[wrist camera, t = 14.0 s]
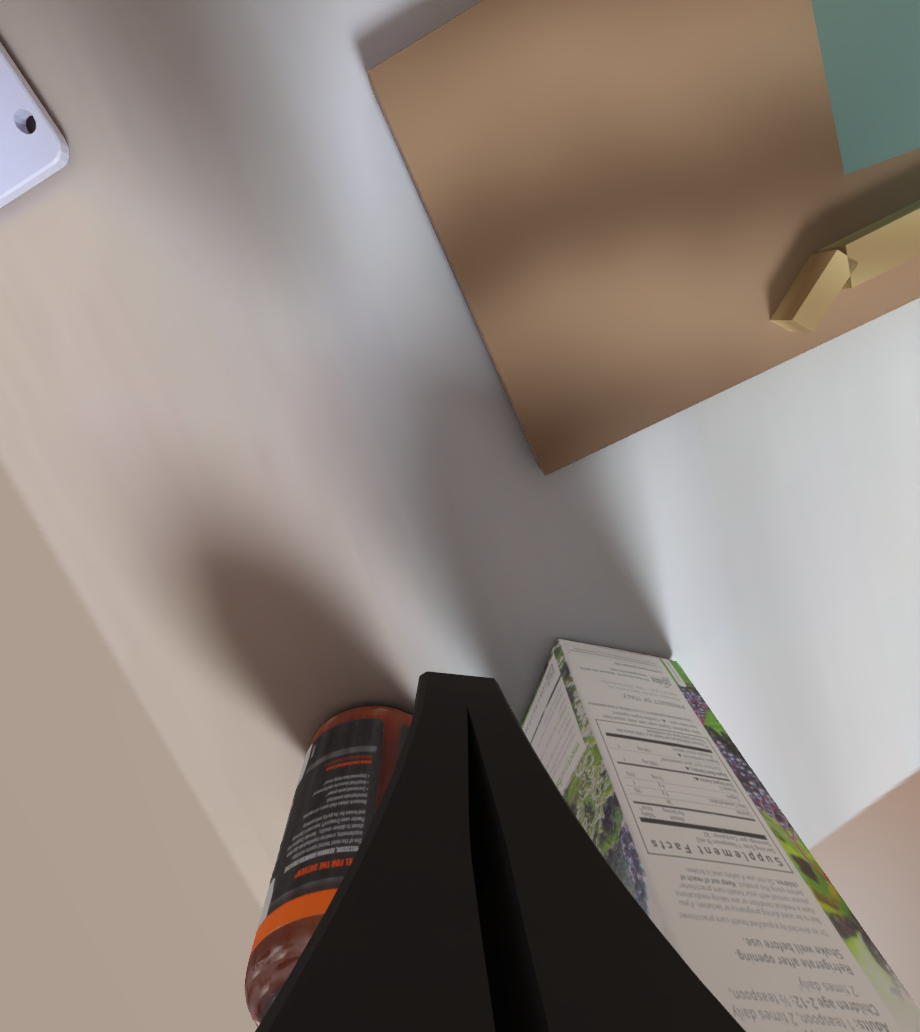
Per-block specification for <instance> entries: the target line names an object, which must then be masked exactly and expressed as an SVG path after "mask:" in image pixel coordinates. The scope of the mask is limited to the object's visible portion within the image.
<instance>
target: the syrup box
mask: <svg viewBox="0 0 920 1032" xmlns="http://www.w3.org/2000/svg"><path fill="white" fill-rule="evenodd" d="M521 728H522V729H523V731H524V733H525V735H526V737H527V738H528V740H529V742H530V744H531V745H532V747H533V749H534V750H535V752H536V754H537V756H538V757H539V759H540V761H541V762H542V764H543V765H544V767H545V769H546V770H547V772H548V774H549V775H550V777H551V778H552V780H553V782H554V783H555V785H556V787H557V788H558V790H559V791H560V793H561V795H562V796H563V798H564V799H565V801H566V802H567V804H568V805H569V807H570V808H571V810H572V812H573V813H574V815H575V816H576V818H577V819H578V821H579V822H580V823H581V825H582V826H583V828H584V829H585V831H586V832H587V834H588V835H589V837H590V838H591V839H592V841H593V842H594V844H595V845H596V847H597V848H598V850H599V851H600V852H601V854H602V855H603V857H604V858H605V859H606V861H607V862H608V864H609V865H610V866H611V868H612V869H613V871H614V872H615V873H616V875H617V876H618V877H619V879H620V880H621V881H622V883H623V884H624V885H625V887H626V888H627V889H628V891H629V892H630V893H631V895H632V896H633V897H634V898H635V900H636V901H637V902H638V904H639V905H640V906H641V907H642V909H643V910H644V911H645V913H646V914H647V915H648V917H649V918H650V919H651V920H652V922H653V923H654V924H655V926H656V927H657V928H658V929H659V930H660V932H661V933H662V934H663V935H664V937H665V938H666V939H667V940H668V941H669V943H670V944H671V945H672V946H673V948H674V949H675V950H676V951H677V952H678V954H679V955H680V956H681V957H682V959H683V960H684V961H685V962H686V964H687V965H688V966H689V967H690V968H691V970H692V971H693V972H694V973H695V974H696V976H697V977H698V978H699V979H700V980H701V981H702V983H703V984H704V985H705V986H706V987H707V988H708V989H709V990H710V992H711V993H712V994H713V995H714V996H715V997H716V998H717V999H718V1001H719V1002H720V1003H721V1004H722V1005H723V1006H724V1007H725V1008H726V1010H727V1011H728V1012H729V1013H730V1014H731V1015H732V1016H733V1018H734V1019H735V1020H736V1021H737V1022H738V1023H739V1024H740V1025H741V1027H742V1028H743V1029H744V1030H745V1031H746V1032H920V1009H919V1008H918V1006H917V1005H916V1003H915V1002H914V1001H913V999H912V998H911V996H910V995H909V993H908V992H907V990H906V989H905V988H904V986H903V985H902V983H901V982H900V981H899V979H898V978H897V976H896V975H895V973H894V972H893V971H892V969H891V968H890V966H889V965H888V964H887V962H886V961H885V959H884V958H883V956H882V955H881V954H880V952H879V951H878V949H877V948H876V947H875V945H874V944H873V942H872V941H871V940H870V938H869V937H868V935H867V934H866V932H865V931H864V930H863V928H862V927H861V925H860V924H859V922H858V921H857V919H856V918H855V917H854V915H853V914H852V912H851V911H850V909H849V908H848V907H847V905H846V903H845V902H844V901H843V899H842V898H841V896H840V895H839V893H838V892H837V890H836V889H835V887H834V886H833V885H832V883H831V882H830V880H829V879H828V877H827V876H826V875H825V873H824V872H823V870H822V869H821V867H820V866H819V865H818V863H817V862H816V860H815V859H814V858H813V856H812V855H811V853H810V852H809V850H808V849H807V848H806V846H805V845H804V843H803V842H802V840H801V839H800V837H799V836H798V835H797V833H796V832H795V830H794V829H793V827H792V826H791V824H790V823H789V822H788V820H787V819H786V817H785V816H784V814H783V813H782V812H781V810H780V809H779V807H778V806H777V805H776V803H775V802H774V800H773V799H772V798H771V796H770V795H769V793H768V792H767V790H766V789H765V787H764V786H763V785H762V783H761V782H760V780H759V779H758V777H757V776H756V775H755V773H754V772H753V770H752V769H751V768H750V766H749V765H748V764H747V762H746V761H745V759H744V758H743V756H742V755H741V753H740V752H739V750H738V749H737V747H736V746H735V745H734V743H733V742H732V740H731V739H730V737H729V736H728V734H727V733H726V731H725V730H724V728H723V727H722V725H721V724H720V723H719V721H718V720H717V719H716V717H715V716H714V714H713V713H712V711H711V710H710V708H709V707H708V705H707V704H706V703H705V701H704V700H703V698H702V697H701V696H700V694H699V693H698V691H697V690H696V688H695V687H694V685H693V684H692V683H691V681H690V680H689V678H688V677H687V675H686V674H685V672H684V671H683V669H682V668H681V666H680V665H679V664H678V663H677V662H676V661H672V660H670V659H665V658H660V657H655V656H650V655H645V654H640V653H634V652H629V651H624V650H619V649H613V648H608V647H603V646H597V645H591V644H586V643H580V642H574V641H569V640H564V639H557V640H556V642H555V644H554V646H553V649H552V651H551V654H550V656H549V659H548V662H547V664H546V667H545V669H544V672H543V674H542V677H541V679H540V681H539V684H538V686H537V689H536V691H535V694H534V696H533V699H532V701H531V704H530V706H529V708H528V711H527V713H526V716H525V718H524V720H523V722H522V725H521Z"/></svg>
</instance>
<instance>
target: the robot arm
mask: <svg viewBox="0 0 920 1032" xmlns="http://www.w3.org/2000/svg"><path fill="white" fill-rule="evenodd" d="M32 115H33V117H34V119H35V121H36V130H35V131H34V132H33V133H32V134H30V133H29V132H28V130H27V127H26V120H27V118H28V117H29V116H32ZM68 159H69V148H68V145H67V143H66V141H65V138H64V137H63V135H62V134H61V132H60V131H59V129H58V128H57V126H56V125H55V123H54V122H53V120H52V119H51V117H50V116H49V114H48V113H47V111H46V110H45V108H44V107H43V105H42V104H41V102H40V101H39V99H38V98H37V96H36V95H35V93H34V92H33V90H32V89H31V87H30V86H29V84H28V83H27V81H26V80H25V78H24V77H23V75H22V74H21V72H20V71H19V69H18V68H17V66H16V65H15V63H14V62H13V60H12V59H11V57H10V56H9V54H8V53H7V51H6V50H5V48H4V47H3V45H2V44H1V42H0V208H1V207H3V206H4V205H6V204H7V203H9V202H11V201H12V200H14V199H15V198H17V197H18V196H20V195H21V194H23V193H24V192H26V191H28V190H29V189H31V188H32V187H34V186H35V185H37V184H38V183H40V182H41V181H43V180H45V179H46V178H48V177H49V176H51V175H52V174H54V173H55V172H57V171H58V170H60V169H62V168H63V167H64V166H65V165H66V164H67V163H68ZM255 1032H746V1031H745V1030H744V1029H743V1028H742V1027H741V1025H740V1024H739V1023H738V1022H737V1021H736V1020H735V1019H734V1018H733V1016H732V1015H731V1014H730V1013H729V1012H728V1011H727V1010H726V1008H725V1007H724V1006H723V1005H722V1004H721V1003H720V1002H719V1001H718V999H717V998H716V997H715V996H714V995H713V994H712V993H711V992H710V990H709V989H708V988H707V987H706V986H705V985H704V984H703V983H702V981H701V980H700V979H699V978H698V977H697V976H696V974H695V973H694V972H693V971H692V970H691V968H690V967H689V966H688V965H687V964H686V962H685V961H684V960H683V959H682V957H681V956H680V955H679V954H678V952H677V951H676V950H675V949H674V948H673V946H672V945H671V944H670V943H669V941H668V940H667V939H666V938H665V937H664V935H663V934H662V933H661V932H660V930H659V929H658V928H657V927H656V926H655V924H654V923H653V922H652V920H651V919H650V918H649V917H648V915H647V914H646V913H645V911H644V910H643V909H642V907H641V906H640V905H639V904H638V902H637V901H636V900H635V898H634V897H633V896H632V895H631V893H630V892H629V891H628V889H627V888H626V887H625V885H624V884H623V883H622V881H621V880H620V879H619V877H618V876H617V875H616V873H615V872H614V871H613V869H612V868H611V866H610V865H609V864H608V862H607V861H606V859H605V858H604V857H603V855H602V854H601V852H600V851H599V850H598V848H597V847H596V845H595V844H594V842H593V841H592V839H591V838H590V837H589V835H588V834H587V832H586V831H585V829H584V828H583V826H582V825H581V823H580V822H579V821H578V819H577V818H576V816H575V815H574V813H573V812H572V810H571V808H570V807H569V805H568V804H567V802H566V801H565V799H564V798H563V796H562V795H561V793H560V791H559V790H558V788H557V787H556V785H555V783H554V782H553V780H552V778H551V777H550V775H549V774H548V772H547V770H546V769H545V767H544V765H543V764H542V762H541V761H540V759H539V757H538V756H537V754H536V752H535V750H534V749H533V747H532V745H531V744H530V742H529V740H528V738H527V737H526V735H525V733H524V731H523V729H522V728H521V726H520V724H519V722H518V720H517V719H516V717H515V715H514V713H513V711H512V709H511V708H510V706H509V704H508V702H507V700H506V698H505V696H504V694H503V692H502V690H501V688H500V686H499V684H498V683H497V682H496V680H495V679H494V678H485V677H475V676H466V675H456V674H446V673H436V672H425V673H424V674H422V675H421V676H420V677H419V682H418V688H417V693H416V699H415V705H414V710H413V716H412V722H411V725H410V728H409V732H408V735H407V737H406V740H405V743H404V745H403V748H402V751H401V753H400V756H399V759H398V762H397V764H396V767H395V770H394V772H393V775H392V777H391V779H390V782H389V784H388V786H387V788H386V791H385V793H384V795H383V797H382V800H381V802H380V804H379V806H378V808H377V811H376V813H375V815H374V817H373V820H372V822H371V824H370V826H369V828H368V830H367V833H366V835H365V837H364V839H363V841H362V843H361V845H360V847H359V849H358V851H357V853H356V855H355V857H354V859H353V861H352V863H351V865H350V867H349V869H348V871H347V872H346V874H345V876H344V878H343V880H342V882H341V884H340V886H339V888H338V889H337V891H336V893H335V895H334V897H333V899H332V901H331V903H330V904H329V906H328V908H327V910H326V912H325V913H324V915H323V917H322V919H321V921H320V922H319V924H318V926H317V928H316V929H315V931H314V933H313V935H312V936H311V938H310V940H309V942H308V943H307V945H306V947H305V949H304V950H303V952H302V954H301V956H300V958H299V959H298V961H297V963H296V965H295V966H294V968H293V970H292V972H291V973H290V975H289V977H288V978H287V980H286V982H285V983H284V985H283V987H282V988H281V990H280V992H279V993H278V995H277V997H276V999H275V1000H274V1002H273V1004H272V1005H271V1007H270V1008H269V1010H268V1012H267V1013H266V1015H265V1017H264V1018H263V1020H262V1022H261V1023H260V1025H259V1026H258V1028H257V1030H256V1031H255Z"/></svg>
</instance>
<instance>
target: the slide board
mask: <svg viewBox="0 0 920 1032" xmlns="http://www.w3.org/2000/svg"><path fill="white" fill-rule="evenodd" d="M367 72H368V76H369V79H370V83H371V87H372V90H373V93H374V95H375V97H376V99H377V102H378V104H379V106H380V108H381V111H382V113H383V115H384V117H385V120H386V122H387V124H388V127H389V129H390V131H391V133H392V136H393V138H394V140H395V142H396V145H397V147H398V149H399V151H400V154H401V156H402V158H403V160H404V163H405V165H406V167H407V169H408V172H409V174H410V176H411V179H412V181H413V183H414V185H415V188H416V190H417V192H418V194H419V197H420V199H421V201H422V203H423V206H424V208H425V210H426V212H427V215H428V217H429V219H430V221H431V224H432V226H433V228H434V230H435V233H436V235H437V237H438V240H439V242H440V244H441V246H442V249H443V251H444V253H445V255H446V258H447V260H448V262H449V264H450V267H451V269H452V271H453V273H454V276H455V278H456V280H457V282H458V285H459V287H460V289H461V292H462V294H463V296H464V298H465V301H466V303H467V305H468V307H469V310H470V312H471V314H472V316H473V319H474V321H475V323H476V325H477V328H478V330H479V332H480V334H481V337H482V339H483V341H484V343H485V346H486V348H487V350H488V353H489V355H490V357H491V359H492V362H493V364H494V366H495V368H496V371H497V373H498V375H499V377H500V380H501V382H502V384H503V386H504V389H505V391H506V393H507V395H508V398H509V400H510V402H511V405H512V407H513V409H514V411H515V414H516V416H517V418H518V420H519V423H520V425H521V427H522V429H523V432H524V434H525V436H526V438H527V441H528V443H529V445H530V447H531V450H532V452H533V454H534V456H535V459H536V461H537V463H538V466H539V468H540V469H541V470H542V472H543V473H544V474H545V476H546V475H548V474H550V473H552V472H554V471H556V470H558V469H560V468H562V467H565V466H567V465H569V464H571V463H573V462H575V461H577V460H579V459H581V458H583V457H586V456H588V455H590V454H592V453H594V452H596V451H598V450H600V449H602V448H604V447H607V446H609V445H611V444H613V443H615V442H617V441H619V440H621V439H623V438H625V437H628V436H630V435H632V434H634V433H636V432H638V431H640V430H642V429H644V428H647V427H649V426H651V425H653V424H655V423H657V422H659V421H661V420H663V419H665V418H668V417H670V416H672V415H674V414H676V413H678V412H680V411H682V410H684V409H686V408H689V407H691V406H693V405H695V404H697V403H699V402H701V401H703V400H705V399H707V398H710V397H712V396H714V395H716V394H718V393H720V392H722V391H724V390H726V389H728V388H731V387H733V386H735V385H737V384H739V383H741V382H743V381H745V380H747V379H749V378H752V377H754V376H756V375H758V374H760V373H762V372H764V371H766V370H768V369H770V368H773V367H775V366H777V365H779V364H781V363H783V362H785V361H787V360H789V359H791V358H794V357H796V356H798V355H800V354H802V353H804V352H806V351H808V350H810V349H812V348H815V347H817V346H819V345H821V344H823V343H825V342H827V341H829V340H831V339H833V338H836V337H838V336H840V335H842V334H844V333H846V332H848V331H850V330H852V329H855V328H857V327H859V326H861V325H863V324H865V323H867V322H869V321H871V320H873V319H876V318H878V317H880V316H882V315H884V314H886V313H888V312H890V311H892V310H894V309H897V308H899V307H901V306H903V305H905V304H907V303H909V302H911V301H913V300H915V299H918V298H920V148H918V149H915V150H913V151H910V152H907V153H904V154H901V155H899V156H896V157H893V158H890V159H887V160H885V161H882V162H879V163H876V164H873V165H870V166H868V167H865V168H862V169H859V170H856V171H854V172H851V173H848V174H845V175H844V169H843V164H842V159H841V154H840V148H839V143H838V138H837V133H836V127H835V122H834V117H833V112H832V107H831V101H830V96H829V91H828V86H827V80H826V75H825V70H824V65H823V60H822V54H821V49H820V44H819V39H818V33H817V28H816V23H815V18H814V12H813V7H812V2H811V0H482V1H481V2H479V3H478V4H476V5H474V6H473V7H471V8H469V9H468V10H466V11H465V12H463V13H461V14H460V15H458V16H457V17H455V18H453V19H452V20H450V21H448V22H447V23H445V24H444V25H442V26H440V27H439V28H437V29H435V30H434V31H432V32H431V33H429V34H427V35H426V36H424V37H423V38H421V39H419V40H418V41H416V42H414V43H413V44H411V45H410V46H408V47H406V48H405V49H403V50H401V51H400V52H398V53H397V54H395V55H393V56H392V57H390V58H389V59H387V60H385V61H384V62H382V63H380V64H379V65H377V66H376V67H374V68H372V69H371V70H369V71H367Z"/></svg>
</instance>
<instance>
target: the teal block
mask: <svg viewBox="0 0 920 1032" xmlns="http://www.w3.org/2000/svg"><path fill="white" fill-rule="evenodd" d="M811 2H812V7H813V12H814V18H815V23H816V28H817V33H818V39H819V44H820V49H821V54H822V60H823V65H824V70H825V75H826V80H827V86H828V91H829V96H830V101H831V107H832V112H833V117H834V122H835V127H836V133H837V138H838V143H839V148H840V154H841V159H842V164H843V169H844V175H845V174H848V173H851V172H854V171H856V170H859V169H862V168H865V167H868V166H870V165H873V164H876V163H879V162H882V161H885V160H887V159H890V158H893V157H896V156H899V155H901V154H904V153H907V152H910V151H913V150H915V149H918V148H920V0H811Z"/></svg>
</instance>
